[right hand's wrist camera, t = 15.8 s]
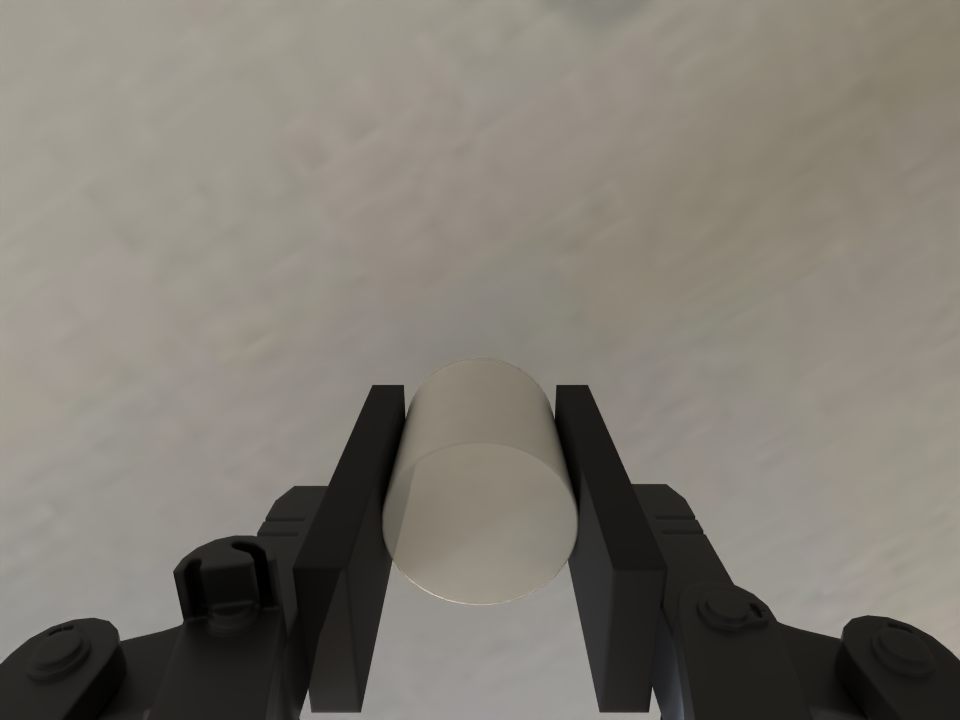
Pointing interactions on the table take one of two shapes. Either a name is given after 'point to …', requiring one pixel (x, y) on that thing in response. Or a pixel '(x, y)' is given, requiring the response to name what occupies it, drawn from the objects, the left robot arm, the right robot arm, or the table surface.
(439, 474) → the can
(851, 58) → the table surface
